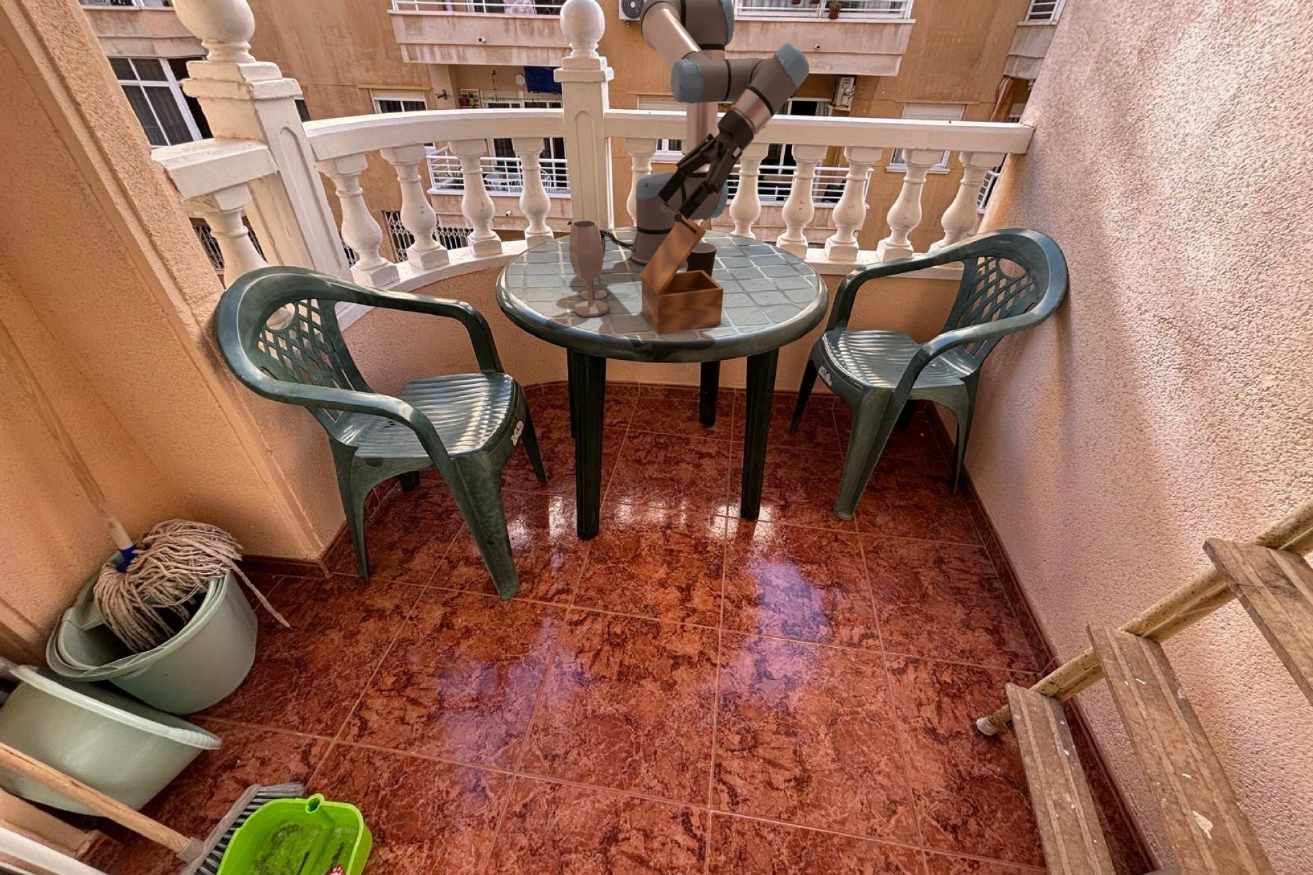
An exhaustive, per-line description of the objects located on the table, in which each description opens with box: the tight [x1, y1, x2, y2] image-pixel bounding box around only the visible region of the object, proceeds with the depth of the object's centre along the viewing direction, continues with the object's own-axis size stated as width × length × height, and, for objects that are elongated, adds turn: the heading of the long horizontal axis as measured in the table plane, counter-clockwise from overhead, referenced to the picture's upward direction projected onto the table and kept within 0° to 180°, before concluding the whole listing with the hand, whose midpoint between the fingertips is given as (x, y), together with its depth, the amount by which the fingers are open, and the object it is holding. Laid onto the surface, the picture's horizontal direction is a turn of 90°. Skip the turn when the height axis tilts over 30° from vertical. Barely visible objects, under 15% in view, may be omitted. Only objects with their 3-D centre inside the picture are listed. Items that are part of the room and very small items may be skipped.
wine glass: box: [579, 233, 608, 300], centre depth 137 cm, size 8×8×15 cm
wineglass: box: [568, 219, 609, 317], centre depth 127 cm, size 9×9×21 cm
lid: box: [640, 203, 707, 296], centre depth 118 cm, size 17×13×7 cm
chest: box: [641, 270, 724, 335], centre depth 127 cm, size 16×13×9 cm
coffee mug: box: [685, 241, 718, 278], centre depth 146 cm, size 12×9×10 cm
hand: (671, 206), depth 113 cm, fingers open, 13 cm apart
